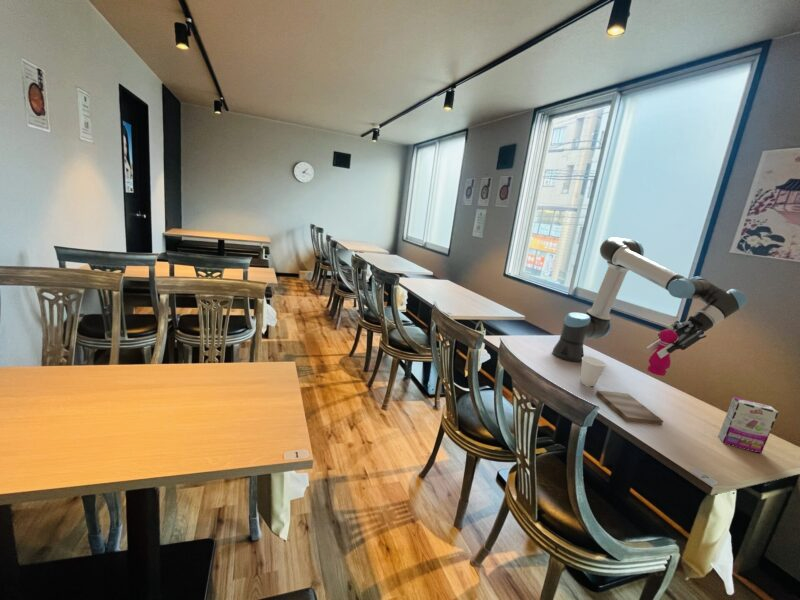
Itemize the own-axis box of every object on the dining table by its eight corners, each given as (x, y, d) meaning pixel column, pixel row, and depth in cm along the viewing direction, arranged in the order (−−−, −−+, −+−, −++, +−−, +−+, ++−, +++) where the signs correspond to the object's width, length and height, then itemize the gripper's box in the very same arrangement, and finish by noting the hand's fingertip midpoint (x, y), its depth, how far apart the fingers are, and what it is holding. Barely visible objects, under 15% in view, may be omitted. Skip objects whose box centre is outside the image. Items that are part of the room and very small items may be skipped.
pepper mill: (670, 376, 148) (687, 329, 143) (657, 376, 146) (674, 329, 141) (654, 368, 155) (669, 323, 150) (641, 368, 153) (656, 323, 148)
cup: (597, 391, 158) (604, 368, 155) (573, 382, 163) (579, 359, 161) (601, 384, 166) (608, 362, 163) (578, 376, 171) (584, 354, 169)
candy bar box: (754, 446, 131) (772, 405, 127) (761, 454, 127) (780, 412, 123) (716, 435, 135) (732, 396, 131) (722, 443, 130) (739, 402, 126)
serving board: (595, 394, 155) (597, 390, 154) (626, 397, 156) (628, 393, 155) (626, 421, 135) (627, 417, 135) (661, 425, 137) (663, 420, 136)
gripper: (729, 333, 138) (675, 369, 140) (690, 318, 155) (642, 350, 158) (722, 318, 136) (666, 355, 139) (683, 305, 153) (634, 337, 156)
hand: (653, 352), depth 148 cm, fingers closed on pepper mill, 5 cm apart
